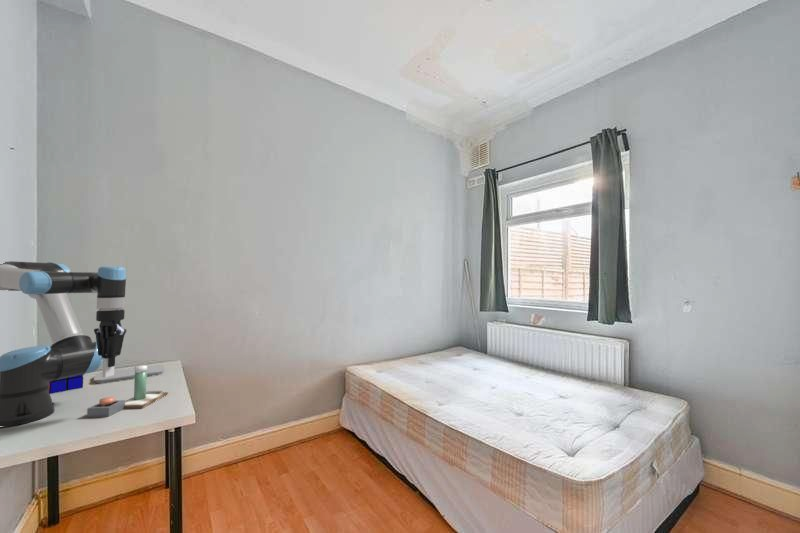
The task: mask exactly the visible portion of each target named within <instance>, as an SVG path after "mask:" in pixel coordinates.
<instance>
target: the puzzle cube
mask: <svg viewBox="0 0 800 533" xmlns="http://www.w3.org/2000/svg"><path fill="white" fill-rule="evenodd" d="M83 388H84V375H78V376H73V377H68V378H64V379H59V380H54V381H50V382H49V384H48V391H49V394H50V395H52V394H56V393H57V394H58V393H62V392H66V391H72V390H77V389H78V390H79V389H83Z"/></svg>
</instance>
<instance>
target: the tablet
mask: <svg viewBox="0 0 800 533" xmlns="http://www.w3.org/2000/svg"><path fill="white" fill-rule="evenodd" d="M165 371H166V370H165V367H164V364H153V365H147V376H148V377H153V376H152V375H155V376H159V374H160V375H163V374H164V372H165ZM162 373H163V374H162ZM133 378H135V367H131V368H123V369H114V375H112V376H108V377H103V371H102V372H98V373H96V374H95V376H94V378H93V382H95V385H101V384H107V382H109V383H114V382H113V381H115V382H120V381H119V380H122V381H126V380H125V379H129V380H134V379H133Z"/></svg>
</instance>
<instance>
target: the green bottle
mask: <svg viewBox="0 0 800 533" xmlns="http://www.w3.org/2000/svg"><path fill="white" fill-rule="evenodd" d="M147 366H148V365H145V364H144V365H136V366H135V367H134V368H135V379H134V383H133V384H134V385H133V386H134V387H133V397H134V400H141V399H145V398H146V391H147V378H148V377H147Z"/></svg>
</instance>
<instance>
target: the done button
mask: <svg viewBox="0 0 800 533" xmlns="http://www.w3.org/2000/svg"><path fill="white" fill-rule="evenodd" d="M115 400H116V397H115V396H108V397H103V398H101V399H99V400H98V401H99V402H98V403H99V405H109V404H112V403H114V402H115Z"/></svg>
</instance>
